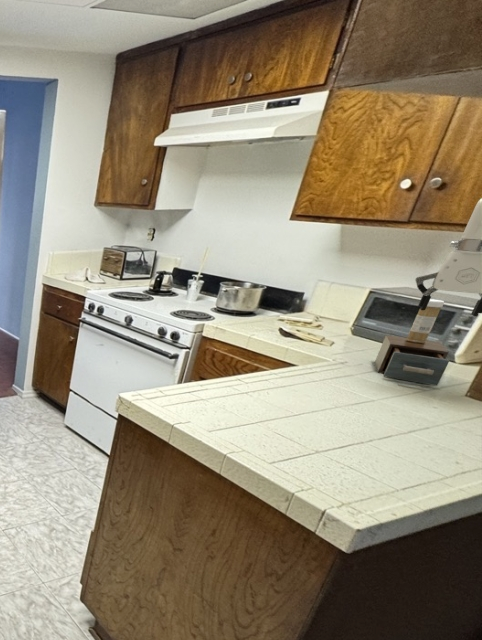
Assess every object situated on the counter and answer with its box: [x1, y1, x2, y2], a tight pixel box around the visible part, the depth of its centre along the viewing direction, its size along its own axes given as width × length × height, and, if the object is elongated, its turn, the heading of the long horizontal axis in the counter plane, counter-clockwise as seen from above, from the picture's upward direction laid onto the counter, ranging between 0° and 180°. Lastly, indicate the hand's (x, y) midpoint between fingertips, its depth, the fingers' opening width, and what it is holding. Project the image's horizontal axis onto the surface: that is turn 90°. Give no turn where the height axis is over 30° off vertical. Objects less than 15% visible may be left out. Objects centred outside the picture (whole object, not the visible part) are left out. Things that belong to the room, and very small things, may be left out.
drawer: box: [383, 347, 450, 387], centre depth 143 cm, size 18×11×8 cm, turn 139°
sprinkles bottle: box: [406, 298, 445, 343], centre depth 147 cm, size 5×5×14 cm
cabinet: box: [374, 334, 449, 374], centre depth 150 cm, size 15×13×10 cm
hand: (447, 312), depth 127 cm, fingers open, 9 cm apart
